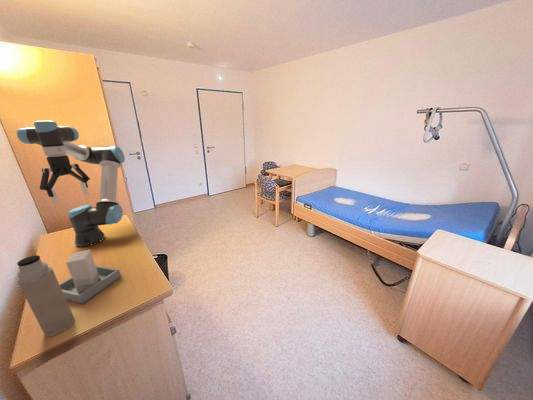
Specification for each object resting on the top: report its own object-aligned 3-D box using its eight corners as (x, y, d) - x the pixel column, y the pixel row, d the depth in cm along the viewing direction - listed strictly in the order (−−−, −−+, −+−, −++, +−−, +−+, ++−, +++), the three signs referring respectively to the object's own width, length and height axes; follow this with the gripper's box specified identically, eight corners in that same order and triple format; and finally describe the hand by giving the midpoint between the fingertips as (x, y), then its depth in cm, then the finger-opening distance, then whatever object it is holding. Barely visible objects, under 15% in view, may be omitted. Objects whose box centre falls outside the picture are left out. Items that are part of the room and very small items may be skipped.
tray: (95, 272, 105) (92, 264, 104) (121, 277, 101) (119, 269, 99) (54, 297, 90) (51, 288, 89) (83, 304, 85) (79, 296, 84)
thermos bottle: (37, 336, 72) (0, 267, 63) (60, 317, 80) (29, 252, 71) (60, 336, 72) (26, 266, 63) (80, 316, 79) (52, 251, 71)
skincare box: (84, 281, 97) (72, 252, 92) (101, 277, 100) (91, 248, 95) (77, 293, 90) (64, 262, 85) (96, 288, 92) (84, 258, 88)
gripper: (27, 159, 88) (47, 207, 95) (90, 152, 110) (102, 191, 117) (16, 159, 90) (36, 206, 97) (79, 152, 113) (92, 191, 119)
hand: (72, 198), depth 107 cm, fingers open, 13 cm apart
